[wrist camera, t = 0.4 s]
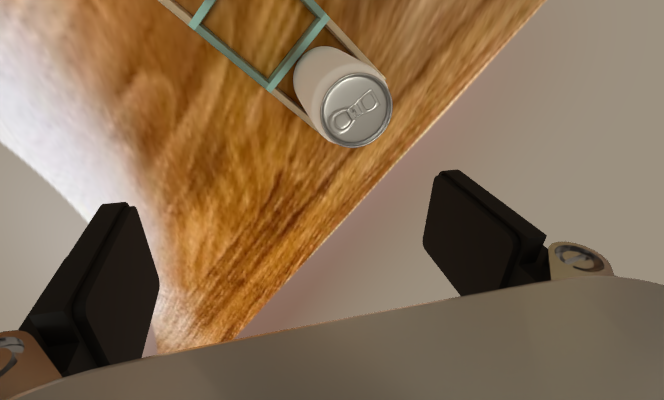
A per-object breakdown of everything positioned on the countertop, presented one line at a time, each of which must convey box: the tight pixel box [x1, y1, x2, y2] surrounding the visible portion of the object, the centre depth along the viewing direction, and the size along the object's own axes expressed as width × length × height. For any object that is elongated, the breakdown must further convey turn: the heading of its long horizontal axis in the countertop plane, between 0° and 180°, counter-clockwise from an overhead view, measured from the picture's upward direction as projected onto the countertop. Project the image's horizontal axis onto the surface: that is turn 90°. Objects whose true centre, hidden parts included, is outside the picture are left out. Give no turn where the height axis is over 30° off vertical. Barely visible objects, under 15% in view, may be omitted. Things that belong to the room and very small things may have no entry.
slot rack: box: [158, 0, 386, 142], centre depth 30 cm, size 9×25×2 cm, turn 47°
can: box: [293, 46, 393, 148], centre depth 30 cm, size 6×6×12 cm
